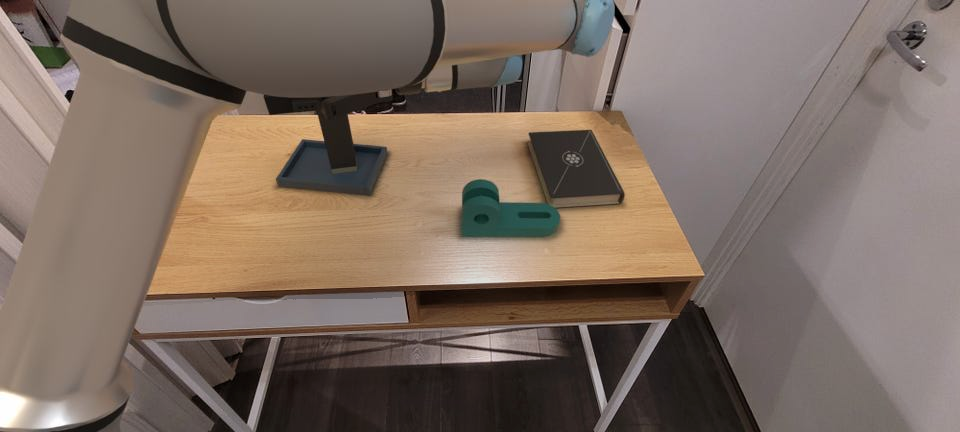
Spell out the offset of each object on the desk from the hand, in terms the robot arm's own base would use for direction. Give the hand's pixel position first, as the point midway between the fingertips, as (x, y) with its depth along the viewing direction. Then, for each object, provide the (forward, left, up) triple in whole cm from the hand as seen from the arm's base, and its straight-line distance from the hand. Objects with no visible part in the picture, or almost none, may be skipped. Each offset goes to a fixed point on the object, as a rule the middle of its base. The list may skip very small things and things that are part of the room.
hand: (270, 79), depth 65 cm
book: (+48, +21, -28) cm, 60 cm away
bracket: (+36, +4, -28) cm, 46 cm away
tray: (-1, +15, -28) cm, 32 cm away
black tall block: (+1, +15, -28) cm, 31 cm away
